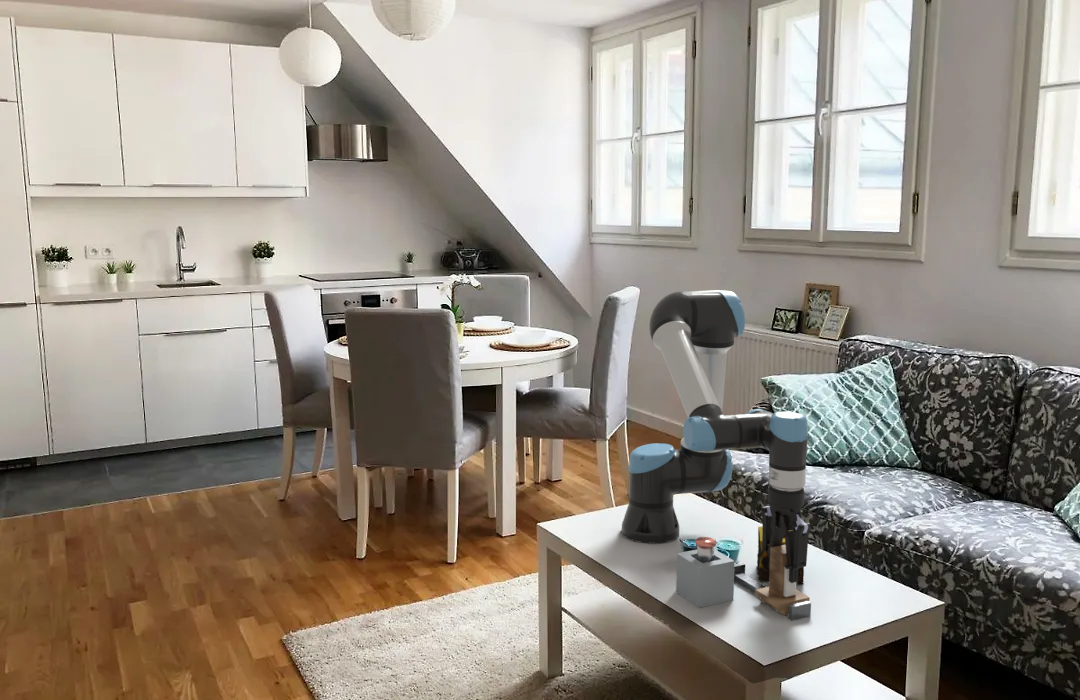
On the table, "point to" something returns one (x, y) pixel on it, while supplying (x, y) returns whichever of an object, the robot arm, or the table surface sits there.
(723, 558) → the housing
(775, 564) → the carriage
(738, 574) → the rail
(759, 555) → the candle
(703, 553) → the plunger
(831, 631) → the table surface
